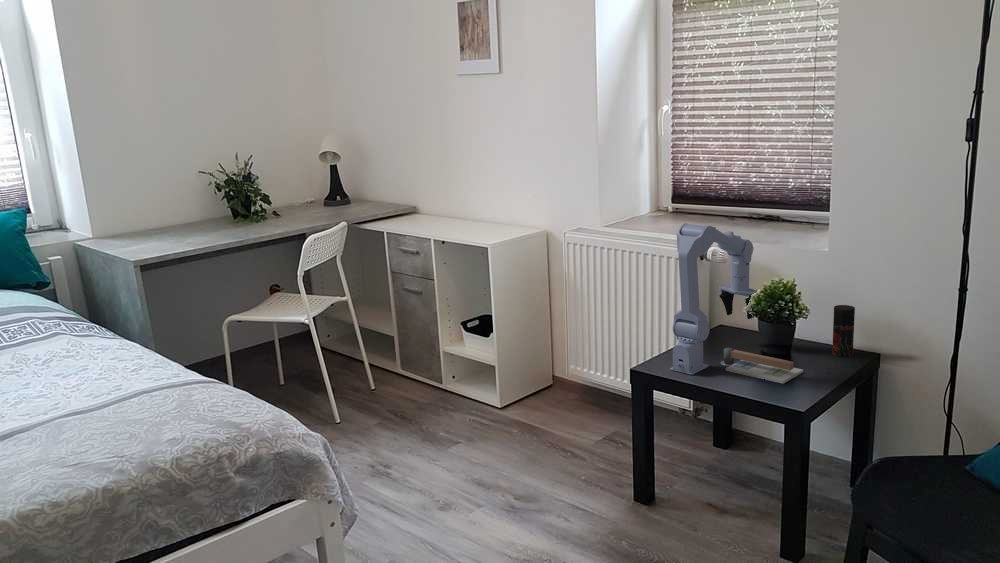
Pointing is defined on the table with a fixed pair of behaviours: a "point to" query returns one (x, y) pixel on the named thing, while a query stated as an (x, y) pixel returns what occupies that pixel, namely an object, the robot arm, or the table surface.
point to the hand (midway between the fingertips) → (739, 316)
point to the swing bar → (756, 359)
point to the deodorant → (843, 330)
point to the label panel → (762, 371)
